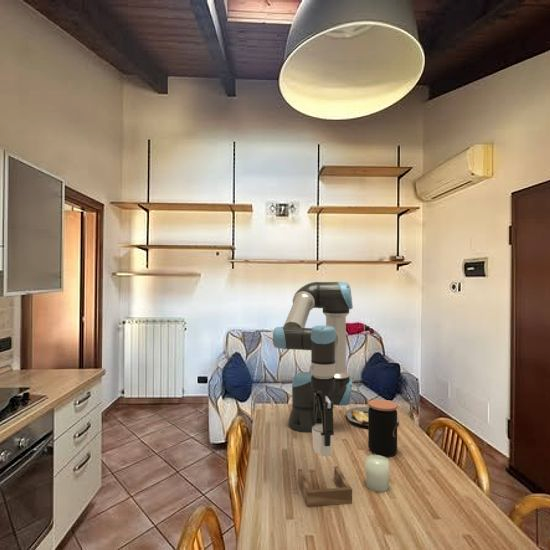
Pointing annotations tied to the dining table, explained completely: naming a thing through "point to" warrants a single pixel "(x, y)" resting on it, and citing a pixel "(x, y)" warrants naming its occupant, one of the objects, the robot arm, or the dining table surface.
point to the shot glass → (318, 438)
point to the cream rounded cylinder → (377, 473)
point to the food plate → (359, 415)
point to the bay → (326, 491)
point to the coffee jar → (382, 427)
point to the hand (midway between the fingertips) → (322, 449)
